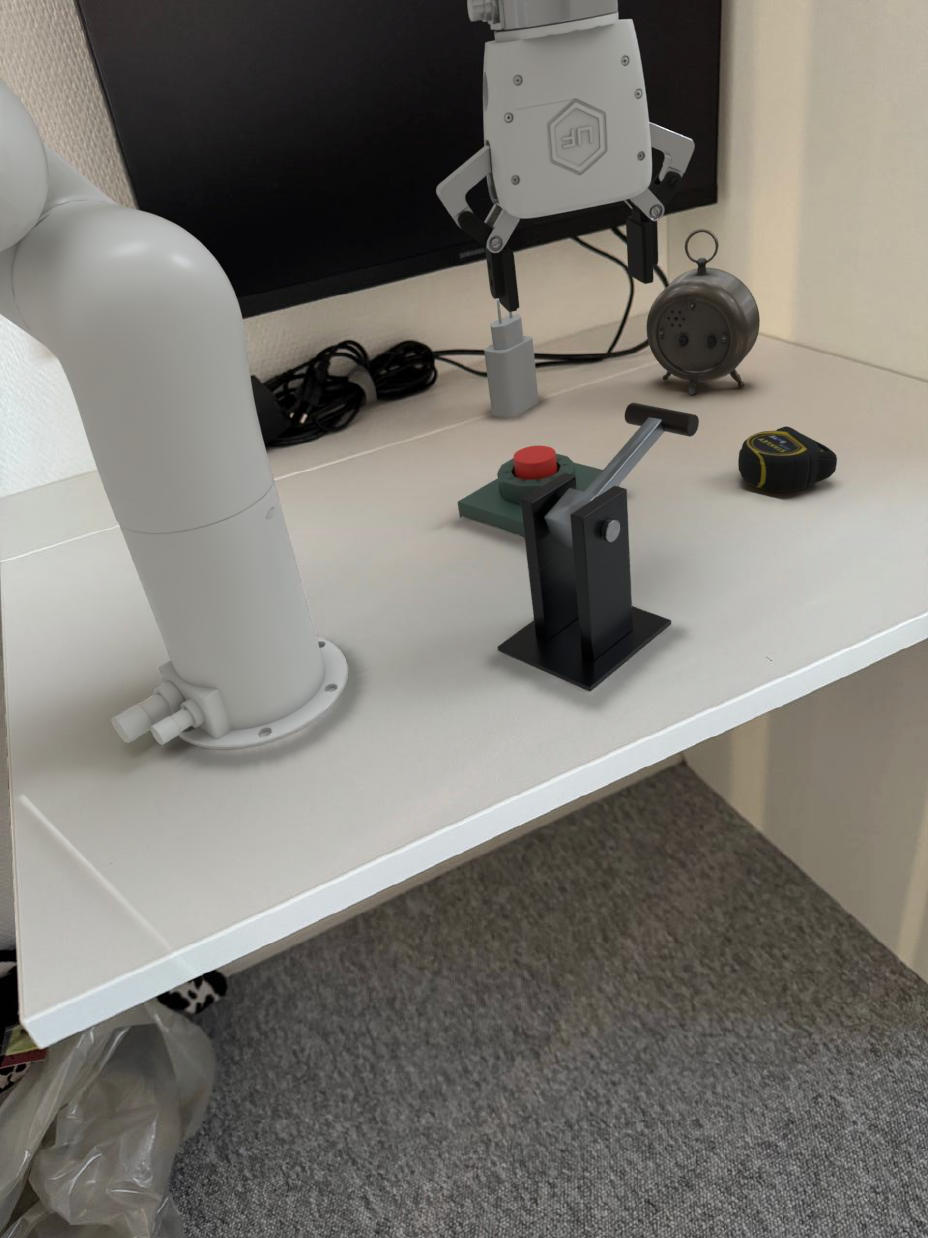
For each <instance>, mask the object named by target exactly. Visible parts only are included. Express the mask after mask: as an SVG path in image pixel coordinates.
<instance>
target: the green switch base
mask: <svg viewBox="0 0 928 1238" xmlns="http://www.w3.org/2000/svg"><path fill="white" fill-rule="evenodd" d="M556 462H557V473H555V474H554V475H552V476H550V477H546V478H542V479H531V480H524V479H521V478H517V477H516V475H515V467H514V459H513V458H511V459H509V460H507V461H505V462H504V463H502V464H501V465H500V467H499V469H498V471H497V473H496V477H497V478H496V479H493V480H492V481H490V482H489V483H487V484H485V485H483V486H482V487H480V488H478V489H476V490H475V491H473V492H471V493H470V494H468V495H466V496H465V497H462V498H461V499H460V500H458V501H457V507H458V515H459V519H461V518H463V517H464V518H467V519H470V520H473V521H476V522H479V523H481V524H484V525H487V526H490V527H494V528H497V529H500V530H502V531H505V532H508V533H512V534H514V535H518V536H520V537H523V538H525V537H524V528H523V519H522V511H521V502H520V500H521V499H522V498H524V497H525V496H527V495H528V494H530V493H532V492H533V491H535V490H537V489H538V488H540V487H541V486H543V485H545V484H546V483H548V482H550V481H551V480H553V479H554V478H556V477H558V476H559V475H561V474H563V473H568V474H572V475H575V476H576V484H577V490H579V491H582V492H585V490H586V489H587V488H588V487H589V486H590V485H591V483H592V482H593V481H594V480H595V479H596V478H597V476H598V475H599V474H600V473H601V472H602V471H603V470H604V469H601V468H597V467H594V466H590V465H586V464H581V463H578V462H574V461H573V460H572V459H571V458H570V457H569V456H567V455H564V454H560V453H556ZM618 487H620V485H619V486H618Z"/></svg>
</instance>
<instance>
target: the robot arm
mask: <svg viewBox="0 0 928 1238" xmlns="http://www.w3.org/2000/svg"><path fill="white" fill-rule="evenodd" d="M618 2H619V1H618V0H466V5H467V6H466V7H467V14H468V18H469V21H470V22H477V21H482V22H483V23H486V22H487V24H488V25H490V30H491V31H493V34H494V40H489V41H487V42H486V41H485V43H484V54H483V73H482V74H483V75H482V112H483V113H482V114H483V115H482V117H483V118H482V119H483V141H484V142H483V144H484V146H483V147H482V148H480V149H479V150H478V151H477V152H475V154H473V155H472V156H471V157H470V158H468V159H467V160H466V161H465V162H463V164H462V165H460V166H459V167H458V168H457V169H455V170H454V171H453V172H452V173H450V174H449V175H448V176H447V177H446V178H445V179H444V180H442V181H441V182H439V184H438V185H437V186H436V188H435V189H436V190H435V193H436V196H437V197H438V199H439V200H440V202H441V203H442V205H443V206H444V207H445V209H446V211H447V212H448V214H449V215H450V216H451V218H452V219H453V221H454V222H455V225H457V226H458V227H459V228H460V229H461V230H462V231H463V232H465V233H466V234H467V235H468V236H470V237H471V238H472V239H473V240H474V241H476V242H477V243H479V244H480V245H481V246H483V247H484V252H485V259H486V268H487V277H488V282H489V290H490V294H491V297H492V298H493V299H494V300H499V304H500V305H501V306H502V307H503V308H504V309H505V310H506V311H507V312H508V313H509V312H512V313H513V312H517V311H518V309H520V301H519V299H520V298H519V297H520V296H519V289H518V280H517V271H516V261H515V254H514V252H513V250H511V248H509V246H508V241H509V239H510V237H511V236H512V235H513V232H514V230H515V229H516V228H517V226H518V224H519V222H520V220H521V219H534V218H540V217H546V216H552V215H557V214H562V213H567V212H572V211H577V210H583V209H588V208H593V207H598V206H602V205H608V204H612V203H613V204H614V203H617V202H622V201H623V202H625V204H627V206H628V207H629V208H630V209H631V215H628V216H627V219H626V221H625V232H626V233H625V234H626V256H627V257H626V258H627V273H628V275H629V276H630V277H631V278H633V279H635V280H636V281H638V282H640V283H642V284H644V285H649V284H653V282H654V277H655V276H654V267H657V266H658V265H659V232H658V231H659V230H658V229H659V228H658V221H660V220H661V219H662V218H663V216H664V215H665V208H666V207H667V206H668V205H669V203H670V202H671V201H672V200H673V197H675V195H676V194H677V192H678V191H679V190H680V188H681V186H682V183H683V176H684V174H685V173H686V171H687V168H688V165H689V163H690V161H691V159H692V156H693V154H694V151H695V147H696V145H695V142H694V140H693V139H692V138H690V137H687V136H684V135H683V134H680V133H678V132H675V131H672V130H669V129H667V128H665V127H662V126H660V125H658V124H656V123H653V122H650V117H649V109H648V108H649V107H648V100H647V93H646V85H645V78H644V77H645V76H644V71H643V64H642V59H641V58H642V57H641V52H640V47H639V43H638V38H637V32H636V29H635V24H634V21H633V19H632V18H626V19H625V18H624V19H623V18H622V19H619V3H618ZM652 148H654V149H656V150H659V151H661V152H662V153H663V155H664V159H663V162H662V167H661V169H660V170H659V171H658V173H656V176H655V177H654V178H653V179H652V177H653V156H652V155H653V154H652V153H653V151H652ZM484 178H486V182H487V188H488V193H489V197H490V200H491V202H492V203H493V205H492V207H491V209H490V211H489V213H488V214H487V217H486V218H485V220H482V218H480V217H478V216H477V215H476V214H475V213H474V211H473V210H472V209H471V207H470V205H469V203H468V202H467V199H466V195H467V193H468V192H469V191H470V190H471V189H472V188H473V187H475V186H476V185H477V184H478V183H479V182H481V181H482V180H483V179H484ZM241 311H242V310H241V307H240V303H239V300H238V297H237V296H236V292H235V290H234V288H233V285H232V283H231V281H230V279H229V277H228V275H227V274H226V272H225V270H224V269H223V267H222V266H221V264H220V263H219V261H218V260H217V258H216V257H215V256H214V254H212V253H211V252H210V250H209V249H207V247H206V246H205V245H204V244H203V243H202V242H201V241H200V240H199V239H197V237H195V236H194V235H192V234H191V233H190V232H188V231H187V230H186V229H185V228H183V227H182V226H180V225H178V224H176V223H174V222H173V221H170V220H168V219H166V218H164V217H162V216H159V215H157V214H154V213H151V212H147V211H144V210H139V209H136V208H133V207H128V206H125V205H120V204H119V203H117V202H116V201H115V200H113V199H112V198H111V197H110V196H108V194H106V193H105V192H104V191H102V190H101V189H100V188H98V187H97V186H96V185H95V184H94V183H93V182H91V181H90V180H89V179H88V178H87V177H86V176H85V175H84V174H83V173H81V172H80V171H79V170H77V168H75V167H74V166H73V165H72V164H71V163H69V161H67V160H66V159H65V158H63V156H61V155H60V154H59V153H58V152H56V151H55V149H53V148H52V147H51V146H49V144H47V143H46V142H45V141H44V140H43V139H42V136H41V133H40V131H39V129H38V126H37V125H36V122H35V120H34V118H33V117H32V116H31V113H29V111H28V109H27V108H26V106H25V105H24V103H23V102H22V100H21V99H20V97H19V96H18V95H17V94H16V93H15V91H14V90H13V89H12V88H11V87H10V86H9V85H8V84H7V82H5V80H4V79H3V78H2V77H0V315H1V316H2V317H3V318H5V319H7V320H8V321H9V322H11V323H12V324H14V325H16V326H17V327H18V328H19V329H20V330H22V331H24V332H25V333H27V334H28V335H29V336H31V337H32V338H33V339H34V340H36V341H38V343H40V344H41V345H43V346H44V347H45V348H46V349H47V350H49V351H50V353H51V354H52V355H53V356H54V357H55V358H56V359H57V360H58V362H59V364H60V366H61V369H62V371H63V372H64V375H65V377H66V379H67V381H68V384H69V387H70V389H71V392H72V395H73V397H74V400H75V404H76V406H77V409H78V412H79V416H80V419H81V422H82V425H83V428H84V432H85V436H86V439H87V442H88V445H89V448H90V449H89V450H90V452H91V454H92V458H93V460H94V464H95V467H96V469H97V472H98V475H99V477H100V480H101V483H102V486H103V489H104V491H105V494H106V497H107V499H108V503H109V504H110V508H111V511H112V512H113V515H114V517H115V520H116V522H117V524H118V525H119V529H120V531H121V533H122V536H123V539H124V541H125V544H126V547H127V549H128V552H129V554H130V557H131V560H132V563H133V565H134V568H135V571H136V573H137V575H138V578H139V581H140V584H141V586H142V589H143V591H144V594H145V597H146V599H147V601H148V604H149V607H150V610H151V612H152V614H153V617H154V620H155V622H156V625H157V628H158V631H159V633H160V636H161V638H162V639H161V640H162V641H163V644H164V646H165V649H166V651H167V655H168V657H169V660H168V661H167V662H166V663H164V664H162V665H160V666H159V667H158V668H157V670H158V672H159V674H160V677H161V680H162V681H163V682H162V683H160V684H159V685H157V686H156V687H154V688H152V695H151V696H149V697H148V698H146V699H144V700H141V702H139V703H136V704H133V705H132V706H130V707H129V708H127V709H125V710H124V711H122V712H120V713H118V714H117V715H115V716H113V717H112V718H111V723H112V726H113V728H114V730H115V732H116V733H117V735H118V736H119V738H121V740H122V741H123V742H124V743H126V744H131V743H132V742H134V741H135V740H138V738H140V737H142V736H144V735H145V734H146V733H148V732H151V735H152V737H153V738H154V739H155V741H156V742H157V743H158V744H159V745H161V746H164V745H165V744H167V743H168V742H170V741H171V740H173V739H175V738H177V737H179V739H182V740H183V741H185V742H186V743H189V744H192V745H194V746H196V747H200V748H205V749H209V750H210V749H211V750H223V751H225V750H227V751H229V750H242V749H250V748H253V747H260V746H263V745H267V744H271V743H273V742H277V741H279V740H282V739H285V738H288V737H289V736H291V735H293V734H296V733H298V732H300V731H302V730H303V729H304V728H306V727H309V726H310V725H312V724H313V723H314V722H316V721H318V720H319V719H320V718H322V717H323V716H324V715H325V714H326V713H327V712H328V711H330V710H331V708H332V707H333V706H334V705H335V704H336V703H337V702H338V700H339V699H340V698H341V696H342V694H343V692H344V691H345V689H346V687H347V683H348V680H349V665H348V662H347V659H346V656H345V655H344V653H343V652H342V650H341V649H340V647H338V646H337V645H335V644H334V643H333V642H332V641H329V640H327V639H325V638H323V637H321V636H317V634H316V628H315V626H314V625H315V624H314V621H313V618H312V614H311V610H310V607H309V604H308V600H307V596H306V592H305V589H304V585H303V581H302V577H301V574H300V569H299V566H298V563H297V559H296V556H295V553H294V552H295V551H294V548H293V544H292V540H291V536H290V533H289V530H288V526H287V522H286V518H285V515H284V511H283V506H282V503H281V500H280V496H279V492H278V489H277V486H276V482H275V478H274V474H273V471H272V468H271V464H270V461H269V456H268V453H267V449H266V446H265V442H264V438H263V435H262V434H263V433H262V429H261V425H260V421H259V416H258V411H257V406H256V403H255V397H254V391H253V384H252V378H251V370H250V361H249V352H248V343H247V335H246V330H245V324H244V319H243V315H242V312H241ZM320 646H322V647H320ZM332 688H335V690H332V691H328V690H329V689H332ZM192 727H193V729H191V730H188V731H186V730H187V729H189V728H192ZM266 732H269V734H268V735H265V736H261V735H262V734H264V733H266Z"/></svg>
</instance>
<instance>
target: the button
mask: <svg viewBox="0 0 928 1238" xmlns="http://www.w3.org/2000/svg"><path fill="white" fill-rule="evenodd" d="M556 454H557V453H556V450H555V449H554V448H553V447H551V446H549V445H531V446H526V447H523V448H520V449H518V450H517V451H516V452H514V454H513V456H512V457H513V458H512V459H514V467H515V475H516V477H517V478H521V479H524V480H531V479H542V478H546V477H550V476H552V475H554V474H555V473H557V462H556Z"/></svg>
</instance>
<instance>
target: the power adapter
mask: <svg viewBox="0 0 928 1238" xmlns="http://www.w3.org/2000/svg"><path fill="white" fill-rule="evenodd" d="M500 305H501V304H500V302H499V299H496V306H497V307H496V308H497V317H498V319H497V320H495V321H493V322H491V323H490V324H489V325H490V333H491V341H492V344H491V345H489V346H487V347H486V348H484V349H483V352H484V353H483V354H484V360H485V368H486V377H487V384H488V385H487V386H488V393H489V400H490V409H491V414H492V416H494V417H499V418H504V419H513V418H516V417H517V416H519V415H521V414H523V413H524V412H525V411H528V410H529V409H531V408H532V407H533V406H536V405H537V404H539V390H538V379H537V371H536V360H535V349H534V348H535V347H534V338H533V336H530V335H524V330H523V320H522V315H521V314H517V313H516V314H513V312H508V314H509V315H506V316H504V317H502V311H501V306H500Z"/></svg>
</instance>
